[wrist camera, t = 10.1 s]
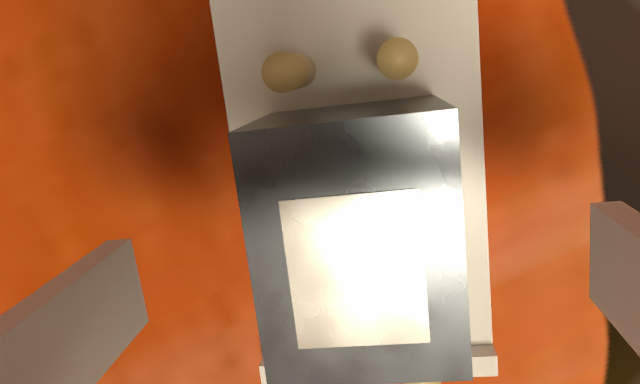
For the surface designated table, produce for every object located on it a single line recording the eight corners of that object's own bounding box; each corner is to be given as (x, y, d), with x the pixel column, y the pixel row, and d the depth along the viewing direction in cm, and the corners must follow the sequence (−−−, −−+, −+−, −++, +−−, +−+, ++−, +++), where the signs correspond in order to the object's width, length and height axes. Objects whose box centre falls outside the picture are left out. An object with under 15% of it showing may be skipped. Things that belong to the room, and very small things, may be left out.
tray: (162, -359, 20) (85, -508, 15) (453, -426, 19) (482, -619, 14) (270, 362, 27) (243, 434, 22) (489, 352, 26) (518, 427, 21)
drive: (271, 112, 23) (227, 133, 16) (433, 94, 22) (458, 108, 15) (297, 301, 25) (267, 389, 18) (446, 292, 24) (473, 381, 17)
